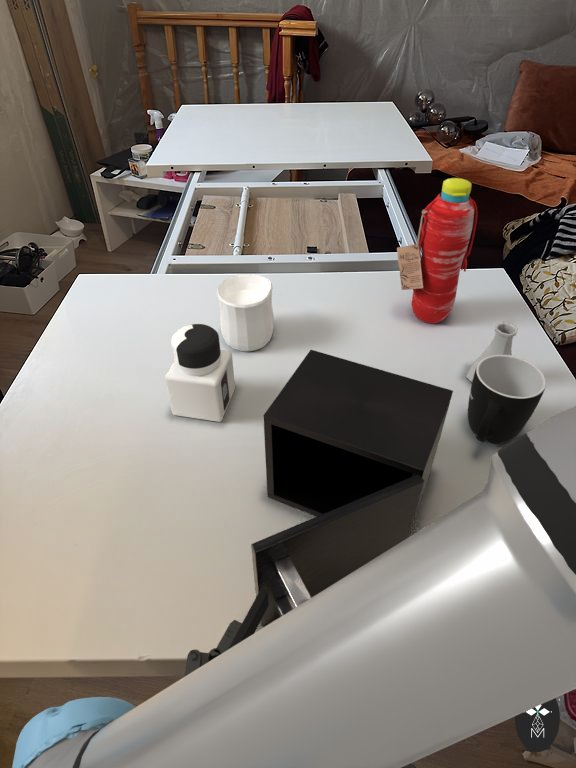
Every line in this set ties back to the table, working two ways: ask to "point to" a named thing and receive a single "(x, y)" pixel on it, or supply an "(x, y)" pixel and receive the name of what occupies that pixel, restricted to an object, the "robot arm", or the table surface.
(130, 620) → the table surface
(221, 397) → the container
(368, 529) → the door
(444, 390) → the dark grey cabinet
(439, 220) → the water bottle
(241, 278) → the cup
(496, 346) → the flask
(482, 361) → the mug
